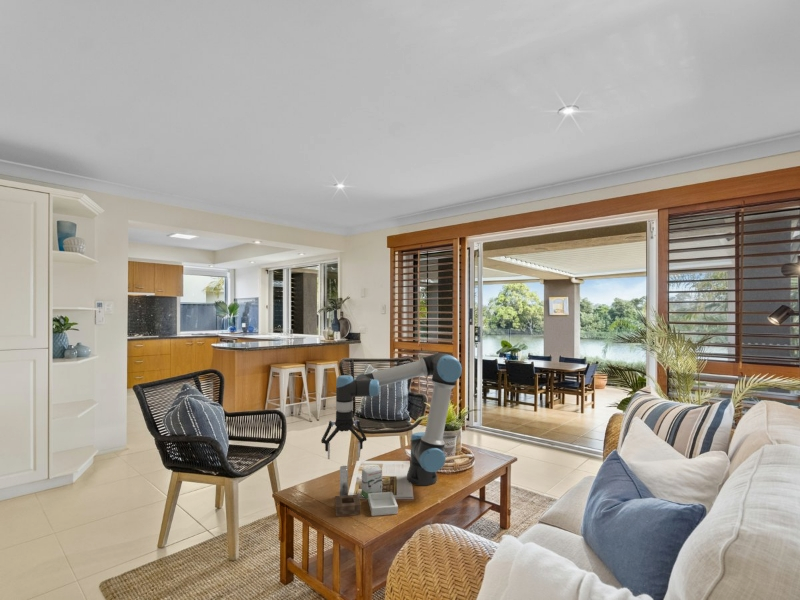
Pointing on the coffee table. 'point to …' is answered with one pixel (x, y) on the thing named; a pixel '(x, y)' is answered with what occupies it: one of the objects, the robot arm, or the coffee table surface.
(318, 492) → the coffee table surface
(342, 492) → the cylinder
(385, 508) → the tray
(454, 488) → the coffee table surface
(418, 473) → the robot arm
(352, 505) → the hollow square tube
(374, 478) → the ink box
